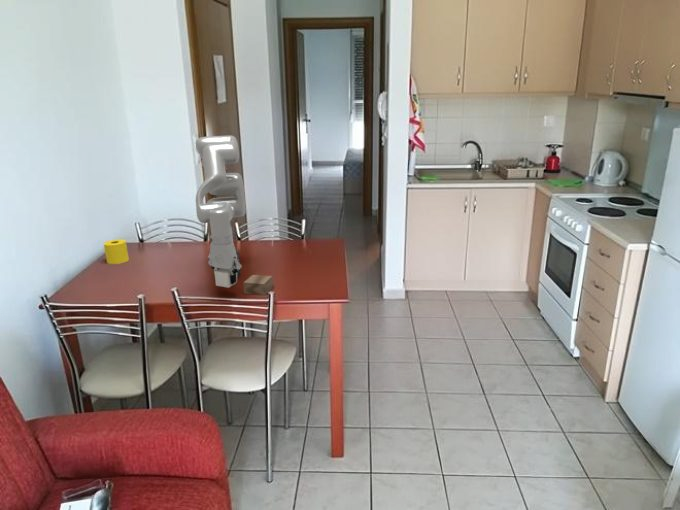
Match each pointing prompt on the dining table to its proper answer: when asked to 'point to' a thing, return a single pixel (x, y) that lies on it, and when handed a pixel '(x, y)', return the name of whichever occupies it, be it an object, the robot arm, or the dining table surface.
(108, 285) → the dining table surface
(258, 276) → the walnut block
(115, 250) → the tape roll
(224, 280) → the cream cube
